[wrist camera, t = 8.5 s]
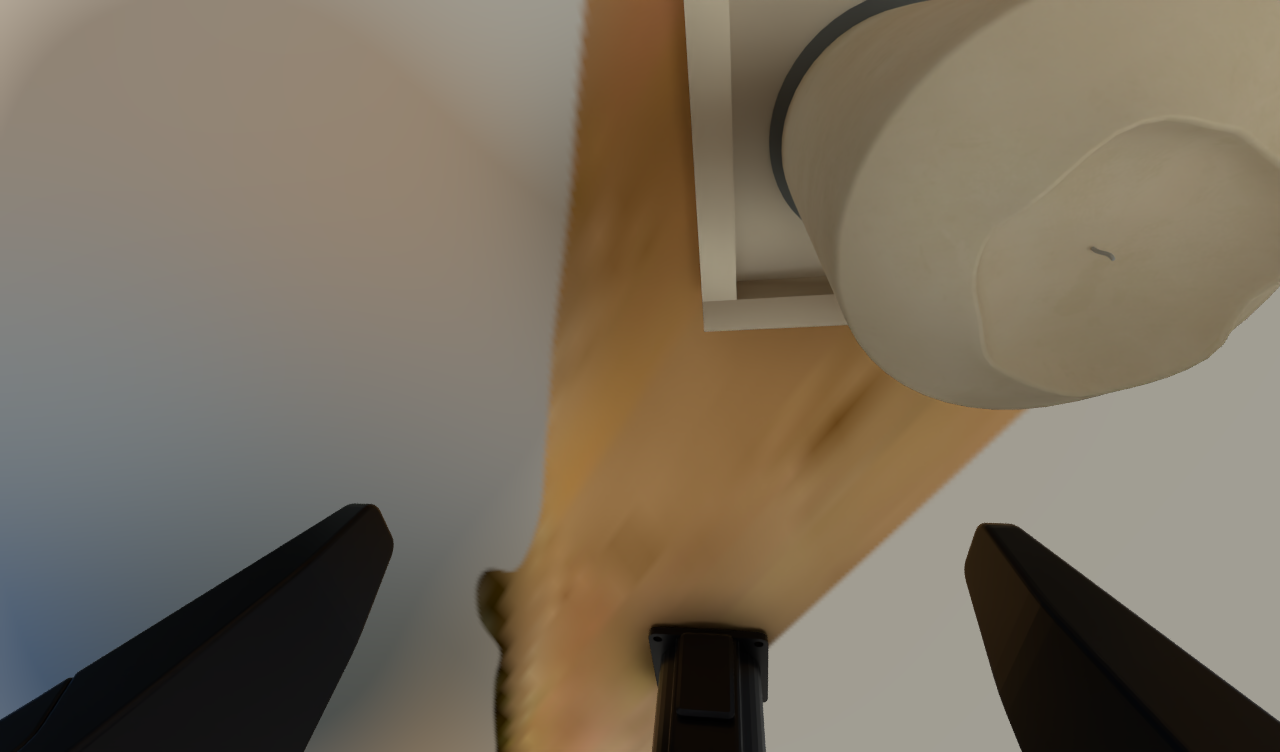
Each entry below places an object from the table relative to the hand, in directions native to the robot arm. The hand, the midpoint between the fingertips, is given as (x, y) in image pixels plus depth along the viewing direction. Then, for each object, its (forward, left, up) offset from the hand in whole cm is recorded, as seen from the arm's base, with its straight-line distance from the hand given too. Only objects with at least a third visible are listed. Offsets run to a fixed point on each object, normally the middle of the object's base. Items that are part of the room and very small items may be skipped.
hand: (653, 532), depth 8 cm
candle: (+4, -5, -11) cm, 12 cm away
